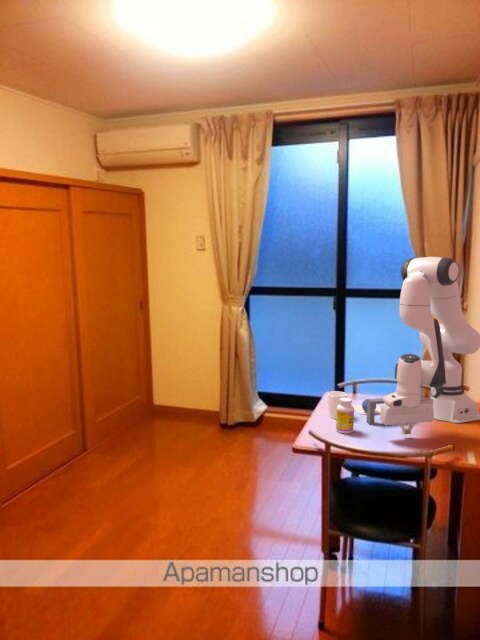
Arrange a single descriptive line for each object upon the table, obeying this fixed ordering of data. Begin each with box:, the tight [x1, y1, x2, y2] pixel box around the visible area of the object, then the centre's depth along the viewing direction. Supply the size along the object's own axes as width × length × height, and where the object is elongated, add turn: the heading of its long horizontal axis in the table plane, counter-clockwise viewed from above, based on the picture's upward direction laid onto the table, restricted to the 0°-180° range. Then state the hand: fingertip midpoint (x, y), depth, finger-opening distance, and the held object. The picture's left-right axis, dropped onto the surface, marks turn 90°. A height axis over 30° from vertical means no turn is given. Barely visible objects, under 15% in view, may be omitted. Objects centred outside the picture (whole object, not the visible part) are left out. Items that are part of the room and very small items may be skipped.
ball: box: [361, 398, 377, 412], centre depth 213 cm, size 6×6×6 cm
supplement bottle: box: [335, 397, 355, 435], centre depth 192 cm, size 7×7×13 cm
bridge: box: [366, 397, 385, 425], centre depth 201 cm, size 3×15×10 cm, turn 100°
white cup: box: [327, 390, 348, 420], centre depth 208 cm, size 8×8×10 cm
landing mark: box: [351, 404, 381, 416], centre depth 218 cm, size 12×12×1 cm
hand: (406, 433), depth 185 cm, fingers closed
